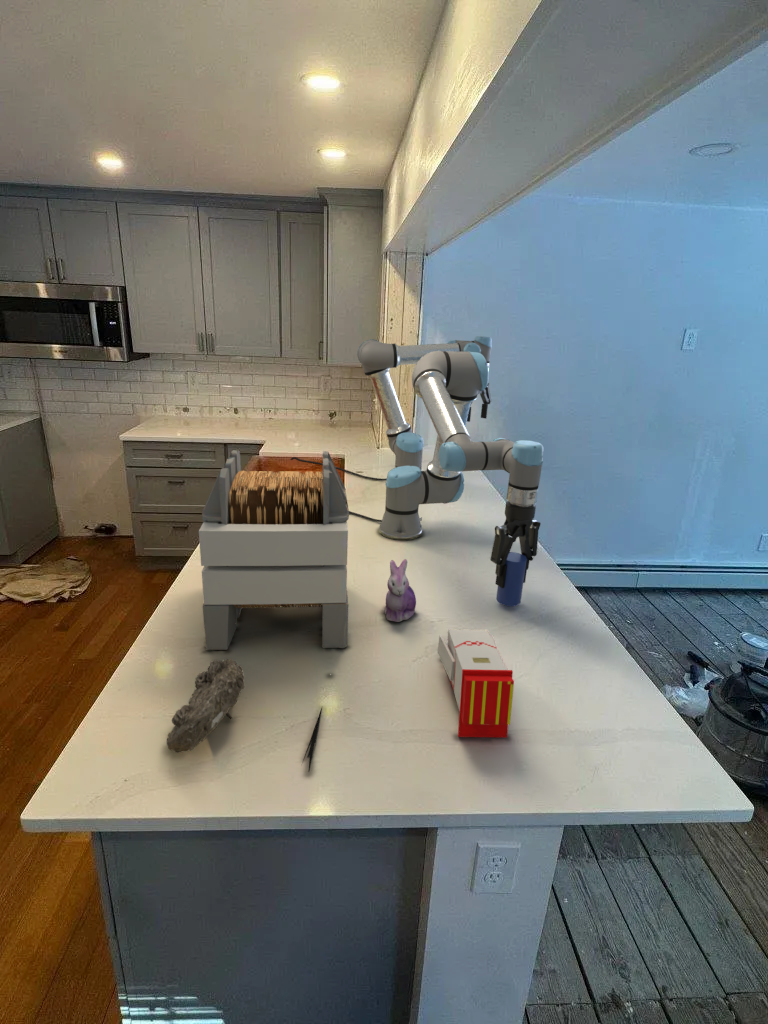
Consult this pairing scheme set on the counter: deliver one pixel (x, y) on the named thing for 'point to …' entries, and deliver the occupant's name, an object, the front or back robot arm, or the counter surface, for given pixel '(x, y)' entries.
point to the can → (513, 580)
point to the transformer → (274, 548)
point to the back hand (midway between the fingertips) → (475, 419)
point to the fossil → (206, 705)
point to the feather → (313, 740)
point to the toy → (478, 682)
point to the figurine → (399, 594)
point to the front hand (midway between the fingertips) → (510, 583)
